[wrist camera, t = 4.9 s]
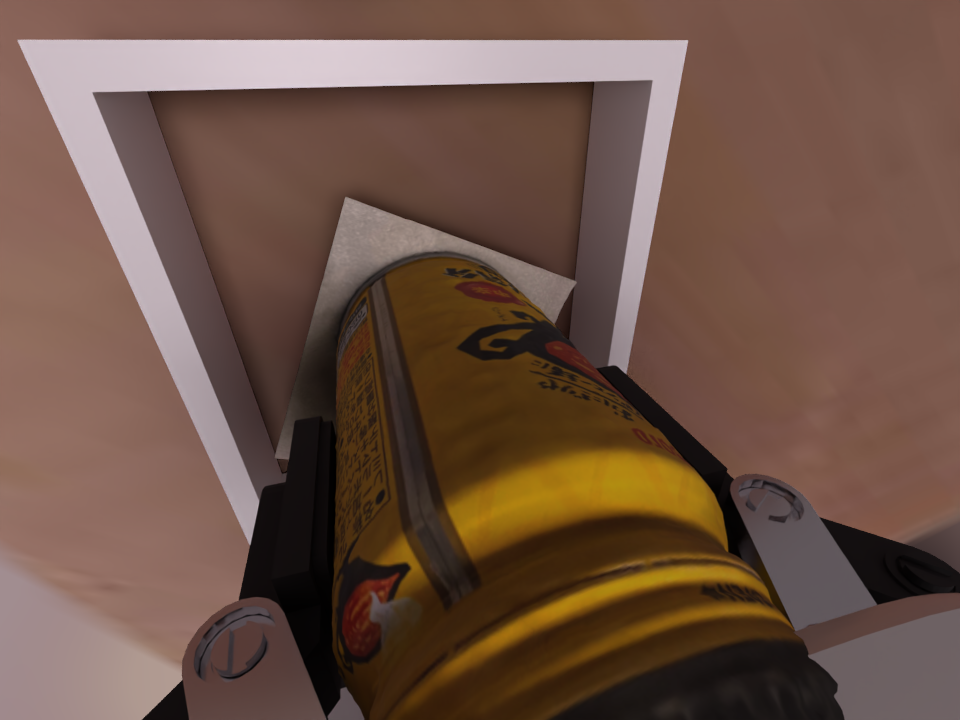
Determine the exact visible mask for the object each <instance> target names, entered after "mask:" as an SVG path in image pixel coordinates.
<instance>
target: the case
mask: <svg viewBox="0 0 960 720" xmlns="http://www.w3.org/2000/svg"><path fill="white" fill-rule="evenodd" d="M18 43H19V45H20V47H21V49H22V51H23V53H24V56H25V58H26V60H27V62H28V64H29V66H30V69H31V71H32V73H33V75H34V77H35V80H36V82H37V84H38V86H39V88H40V90H41V93H42V95H43V97H44V99H45V101H46V103H47V106H48V108H49V110H50V112H51V114H52V116H53V119H54V121H55V123H56V125H57V127H58V130H59V132H60V134H61V136H62V138H63V140H64V143H65V145H66V147H67V149H68V151H69V153H70V156H71V158H72V160H73V162H74V164H75V166H76V169H77V171H78V173H79V175H80V177H81V180H82V182H83V184H84V186H85V188H86V190H87V193H88V195H89V197H90V199H91V201H92V203H93V206H94V208H95V210H96V212H97V214H98V216H99V219H100V221H101V223H102V225H103V227H104V230H105V232H106V234H107V236H108V238H109V240H110V243H111V245H112V247H113V249H114V251H115V253H116V256H117V258H118V260H119V262H120V264H121V266H122V269H123V271H124V273H125V275H126V277H127V280H128V282H129V284H130V286H131V288H132V290H133V293H134V295H135V297H136V299H137V301H138V303H139V306H140V308H141V310H142V312H143V314H144V316H145V319H146V321H147V323H148V325H149V327H150V330H151V332H152V334H153V336H154V338H155V340H156V343H157V345H158V347H159V349H160V351H161V353H162V356H163V358H164V360H165V362H166V364H167V366H168V369H169V371H170V373H171V375H172V377H173V380H174V382H175V384H176V386H177V388H178V390H179V393H180V395H181V397H182V399H183V401H184V403H185V406H186V408H187V410H188V412H189V414H190V416H191V419H192V421H193V423H194V425H195V427H196V430H197V432H198V434H199V436H200V438H201V440H202V443H203V445H204V447H205V449H206V451H207V453H208V456H209V458H210V460H211V462H212V464H213V466H214V469H215V471H216V473H217V475H218V477H219V480H220V482H221V484H222V486H223V488H224V490H225V493H226V495H227V497H228V499H229V501H230V503H231V506H232V508H233V510H234V512H235V514H236V516H237V519H238V521H239V523H240V525H241V527H242V530H243V532H244V534H245V536H246V538H247V540H248V543H249V545H250V544H251V539H252V535H253V530H254V525H255V520H256V516H257V511H258V506H259V501H260V496H261V493H262V490H263V488H264V487H265V486H268V485H273V484H278V483H283V482H286V475H287V473H284V474H282V473H281V470H280V467H279V464H278V461H277V459H275V458H274V457H275V453H274V450H273V447H272V444H271V441H270V439H269V436H268V433H267V430H266V427H265V424H264V422H263V419H262V416H261V413H260V410H259V407H258V405H257V402H256V399H255V396H254V393H253V390H252V388H251V385H250V382H249V379H248V376H247V373H246V370H245V368H244V365H243V362H242V359H241V356H240V353H239V351H238V348H237V345H236V342H235V339H234V336H233V334H232V331H231V328H230V325H229V322H228V319H227V317H226V314H225V311H224V308H223V305H222V302H221V300H220V297H219V294H218V291H217V288H216V285H215V283H214V280H213V277H212V274H211V271H210V268H209V266H208V263H207V260H206V257H205V254H204V251H203V249H202V246H201V243H200V240H199V237H198V234H197V232H196V229H195V226H194V223H193V220H192V217H191V215H190V212H189V209H188V206H187V203H186V200H185V198H184V195H183V192H182V189H181V186H180V183H179V180H178V178H177V175H176V172H175V169H174V166H173V163H172V161H171V158H170V155H169V152H168V149H167V146H166V144H165V141H164V138H163V135H162V132H161V129H160V127H159V124H158V121H157V118H156V115H155V112H154V110H153V107H152V104H151V101H150V98H149V95H148V93H147V91H174V90H220V89H266V88H312V87H358V86H404V85H450V84H496V83H542V82H588V81H594V92H593V102H592V112H591V122H590V132H589V142H588V152H587V162H586V172H585V182H584V192H583V203H582V213H581V223H580V233H579V243H578V253H577V263H576V273H575V281H576V282H577V283H576V285H575V286H574V293H573V304H572V314H571V324H570V334H569V340H570V341H571V342H572V343H573V345H574V346H575V347H576V349H577V350H578V351H579V352H580V353H581V354H582V355H583V356H584V357H585V358H586V359H587V360H588V361H589V362H590V363H591V364H592V365H593V366H594V367H595V368H600V367H606V366H612V365H616V366H617V367H619V368H620V369H621V370H622V371H623V372H624V373H625V374H626V373H627V368H628V362H629V357H630V351H631V346H632V341H633V335H634V330H635V324H636V319H637V314H638V308H639V303H640V297H641V292H642V287H643V281H644V276H645V271H646V265H647V260H648V254H649V249H650V244H651V238H652V233H653V227H654V222H655V217H656V211H657V206H658V200H659V195H660V190H661V184H662V179H663V173H664V168H665V163H666V157H667V152H668V146H669V141H670V136H671V130H672V125H673V119H674V114H675V109H676V103H677V98H678V92H679V87H680V82H681V76H682V71H683V65H684V60H685V55H686V49H687V44H688V40H18ZM328 719H329V720H365V719H364V717H363V715H362V712H361V710H360V708H359V706H358V705H357V704H356V702H355V701H354V699H353V697H352V695H351V694H350V693H349V692H348V690H347V688H346V687H345V688H342V689H341V698H340V700H339V702H338V703H337V704H336V706H335V707H334V708H333V710H332V711H331V713H330V714H329V715H328Z"/></svg>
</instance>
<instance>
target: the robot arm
mask: <svg viewBox="0 0 960 720" xmlns="http://www.w3.org/2000/svg"><path fill="white" fill-rule="evenodd" d="M596 369H597V371H598V372H599V373H600V374H601V375H602V376H603V377H604V378H605V379H606V380H607V381H608V382H609V383H610V384H611V385H612V386H613V387H614V388H615V389H616V390H617V391H619V392H620V393H621V394H622V396H623V397H624V398H625V399H626V400H627V401H628V402H629V403H630V404H631V405H632V406H633V407H634V408H636V409H637V410H638V411H639V412H640V413H641V414H642V416H643V417H644V418H645V419H646V420H647V421H648V422H649V423H650V424H651V425H652V426H653V427H655V428H657V429H659V431H660V432H661V433H663V435H664V436H665V437H666V438H667V440H668V441H669V442H670V443H671V445H672V446H673V447H674V448H675V449H676V450H677V451H678V453H679V454H680V455H681V456H682V457H683V459H684V460H685V461H686V462H688V463H689V464H690V465H691V466H692V467H693V468H694V469H695V470H696V471H697V473H698V474H699V475H700V476H701V477H702V479H703V480H704V481H705V482H706V483H707V485H708V486H709V487H710V489H711V490H712V492H713V493H714V494H715V497H716V499H717V502H718V504H719V506H720V508H721V511H722V513H723V519H724V525H725V530H726V535H727V541H728V552H729V553H731V554H733V555H736V556H737V557H739V558H740V559H742V560H743V561H744V562H746V563H747V564H749V565H750V566H751V567H752V568H753V569H754V571H755V572H756V573H757V574H758V575H759V577H760V578H761V579H762V580H763V582H764V584H765V586H766V588H767V589H768V592H769V595H770V599H771V601H772V603H773V604H774V605H775V606H776V607H777V608H778V609H779V610H780V611H781V613H782V614H783V615H784V616H785V617H786V618H787V620H788V621H789V623H790V624H791V626H792V627H793V629H794V630H795V632H794V633H795V634H796V635H798V636H799V637H800V638H802V639H803V641H804V643H805V646H806V647H807V649H808V653H809V654H808V657H809V658H810V659H812V660H814V661H816V662H817V663H818V664H819V665H820V666H821V667H823V668H824V669H825V670H826V671H827V672H828V673H829V674H830V675H831V676H832V678H833V679H834V680H835V681H836V682H837V683H838V690H837V693H836V694H835V695H834V698H835V699H836V701H837V702H838V704H839V705H840V707H841V709H842V711H843V715H844V719H845V720H960V574H959V572H957V571H956V570H954V569H953V568H952V567H951V566H949V565H948V564H947V563H945V562H944V561H941V560H940V559H938V558H937V557H935V556H933V555H931V554H929V553H927V552H924V551H922V550H919V549H917V548H914V547H911V546H908V545H905V544H902V543H899V542H896V541H893V540H889V539H886V538H883V537H880V536H877V535H874V534H871V533H867V532H864V531H861V530H858V529H855V528H852V527H849V526H845V525H842V524H839V523H836V522H833V521H830V520H827V519H823V518H820V517H819V516H818V515H817V513H816V512H815V510H814V509H813V507H812V506H811V504H810V503H809V501H808V500H807V499H806V498H805V497H804V496H803V494H801V493H800V492H799V491H797V490H796V489H795V488H793V487H792V486H790V485H788V484H787V483H785V482H783V481H781V480H778V479H775V478H772V477H769V476H765V475H759V474H745V475H742V476H739V477H737V478H736V479H735V480H734V479H733V478H732V477H731V476H730V475H729V474H728V473H727V468H726V467H725V466H724V465H723V464H722V463H721V462H720V461H719V460H717V459H716V458H715V457H714V456H713V455H712V454H711V453H710V452H709V451H708V450H707V449H706V448H705V447H704V446H702V445H701V444H700V443H699V442H698V441H697V440H696V439H695V438H694V437H693V436H692V435H691V434H690V433H689V432H687V431H686V430H685V429H684V428H683V427H682V426H681V425H680V424H679V423H678V422H677V421H676V420H675V419H673V418H672V417H671V416H670V415H669V414H668V413H667V412H666V411H665V410H664V409H663V408H662V407H661V406H660V405H658V404H657V403H656V402H655V401H654V400H653V399H652V398H651V397H650V396H649V395H648V394H647V393H646V392H645V391H643V390H642V389H641V388H640V387H639V386H638V385H637V384H636V383H635V382H634V381H633V380H632V379H631V378H630V377H628V376H627V375H626V374H625V373H624V372H623V371H622V370H621V369H620V368H619V367H617V366H616V365H612V366H606V367H600V368H596ZM335 446H336V433H335V429H334V425H333V422H332V420H331V421H325V422H324V421H323V418H322V416H317V417H311V418H305V419H299V420H296V421H295V423H294V428H293V435H292V442H291V448H290V455H289V462H288V468H287V475H286V482H283V483H278V484H273V485H268V486H265V487H264V488H263V490H262V493H261V496H260V501H259V506H258V511H257V516H256V520H255V525H254V530H253V535H252V539H251V544H250V549H249V554H248V559H247V563H246V568H245V573H244V578H243V582H242V587H241V592H240V597H239V601H237V602H234V603H232V604H230V605H227V606H225V607H224V608H222V609H221V610H220V611H218V612H217V613H215V614H214V615H212V616H211V617H210V618H209V619H208V620H207V621H206V622H205V623H204V624H203V625H202V626H201V627H200V628H199V629H198V630H197V632H196V633H195V635H194V637H193V638H192V640H191V641H190V643H189V644H188V646H187V649H186V652H185V655H184V657H183V660H182V679H183V680H182V681H181V682H180V683H179V684H178V685H177V686H176V687H175V688H174V689H173V690H172V691H171V692H170V693H169V694H168V695H167V696H166V697H165V698H164V699H163V700H162V701H161V702H160V703H159V704H158V705H157V706H156V707H155V708H154V709H152V710H151V712H149V714H147V715H146V716H145V717H144V718H143V719H142V720H329V719H328V715H329V714H330V713H331V711H332V710H333V708H334V707H335V706H336V704H337V703H338V702H339V700H340V698H341V689H342V688H345V687H346V685H345V683H344V681H343V679H342V677H341V675H340V674H339V672H338V664H337V661H336V658H335V655H334V653H333V648H332V643H333V630H332V614H333V609H332V587H333V579H334V563H333V556H334V545H333V544H334V536H335V513H336V512H335V495H336V447H335Z"/></svg>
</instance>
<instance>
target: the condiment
mask: <svg viewBox="0 0 960 720" xmlns="http://www.w3.org/2000/svg"><path fill="white" fill-rule="evenodd" d="M576 283H577V282H576V281H573V280H571V279H568V278H566V277H562V276H560V275H557V274H555V273H552V272H549V271H546V270H545V269H542V268H539V267H536V266H533V265H530V264H528V263H525V262H523V261H520V260H517V259H515V258H512V257H509V256H507V255H504V254H501V253H499V252H496V251H493V250H491V249H488V248H485V247H482V246H480V245H477V244H474V243H471V242H469V241H466V240H463V239H460V238H458V237H455V236H452V235H449V234H447V233H444V232H441V231H439V230H436V229H433V228H430V227H428V226H425V225H422V224H419V223H416V222H414V221H412V220H407V219H403V218H401V217H399V216H396V215H394V214H391V213H388V212H385V211H383V210H380V209H377V208H374V207H372V206H369V205H366V204H364V203H361V202H358V201H356V200H353V199H350V198H348V197H345V201H344V204H343V208H342V212H341V215H340V219H339V222H338V226H337V230H336V233H335V237H334V241H333V244H332V248H331V252H330V255H329V259H328V262H327V266H326V270H325V274H324V278H323V281H322V284H321V288H320V292H319V295H318V299H317V302H316V306H315V310H314V314H313V318H312V321H311V325H310V328H309V332H308V336H307V340H306V343H305V346H304V351H303V354H302V358H301V362H300V366H299V369H298V374H297V376H296V380H295V384H294V387H293V391H292V395H291V398H290V402H289V405H288V409H287V413H286V417H285V421H284V424H283V429H282V432H281V436H280V439H279V443H278V446H277V450H276V454H275V457H274V458H275V459H288V460H289V455H290V448H291V442H292V435H293V428H294V423H295V421H296V420H299V419H305V418H311V417H317V416H322V418H323V421H324V422H325V421H331V420H332V422H333V425H334V429H335V433H336V446H335V447H336V495H335V512H336V513H335V536H334V544H333V545H334V556H333V563H334V579H333V587H332V609H333V614H332V630H333V643H332V648H333V653H334V655H335V658H336V661H337V664H338V672H339V674H340V675H341V677H342V679H343V681H344V683H345V685H346V688H347V690H348V692H349V693H350V694H351V695H352V697H353V699H354V701H355V702H356V704H357V705H358V706H359V708H360V710H361V712H362V715H363V717H364V719H365V720H845V719H844V715H843V711H842V709H841V707H840V705H839V704H838V702H837V701H836V699H835V698H834V695H835V694H836V693H837V690H838V683H837V682H836V681H835V680H834V679H833V678H832V676H831V675H830V674H829V673H828V672H827V671H826V670H825V669H824V668H823V667H821V666H820V665H819V664H818V663H817V662H816V661H814V660H812V659H810V658H809V657H808V654H809V653H808V649H807V647H806V646H805V643H804V641H803V639H802V638H800V637H799V636H798V635H796V634H795V633H794V632H795V630H794V629H793V627H792V626H791V624H790V623H789V621H788V620H787V618H786V617H785V616H784V615H783V614H782V613H781V611H780V610H779V609H778V608H777V607H776V606H775V605H774V604H773V603H772V601H771V599H770V595H769V592H768V589H767V588H766V586H765V584H764V582H763V580H762V579H761V578H760V577H759V575H758V574H757V573H756V572H755V571H754V569H753V568H752V567H751V566H750V565H749V564H747V563H746V562H744V561H743V560H742V559H740V558H739V557H737V556H736V555H733V554H731V553H729V552H728V541H727V535H726V530H725V525H724V519H723V513H722V511H721V508H720V506H719V504H718V502H717V499H716V497H715V494H714V493H713V492H712V490H711V489H710V487H709V486H708V485H707V483H706V482H705V481H704V480H703V479H702V477H701V476H700V475H699V474H698V473H697V471H696V470H695V469H694V468H693V467H692V466H691V465H690V464H689V463H688V462H686V461H685V460H684V459H683V457H682V456H681V455H680V454H679V453H678V451H677V450H676V449H675V448H674V447H673V446H672V445H671V443H670V442H669V441H668V440H667V438H666V437H665V436H664V435H663V433H661V432H660V431H659V429H657V428H655V427H653V426H652V425H651V424H650V423H649V422H648V421H647V420H646V419H645V418H644V417H643V416H642V414H641V413H640V412H639V411H638V410H637V409H636V408H634V407H633V406H632V405H631V404H630V403H629V402H628V401H627V400H626V399H625V398H624V397H623V396H622V394H621V393H620V392H619V391H617V390H616V389H615V388H614V387H613V386H612V385H611V384H610V383H609V382H608V381H607V380H606V379H605V378H604V377H603V376H602V375H601V374H600V373H599V372H598V371H597V369H596V368H595V367H594V366H593V365H592V364H591V363H590V362H589V361H588V360H587V359H586V358H585V357H584V356H583V355H582V354H581V353H580V352H579V351H578V350H577V349H576V347H575V346H574V345H573V343H572V342H571V341H570V340H568V339H566V338H565V336H564V335H563V334H562V333H561V331H560V330H559V329H558V328H557V327H556V326H555V325H554V323H555V322H556V320H557V318H558V315H559V312H560V310H561V308H562V307H563V304H564V302H565V301H566V299H567V297H568V295H569V293H570V292H571V290H572V289H573V287H574V286H575V285H576Z"/></svg>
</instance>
